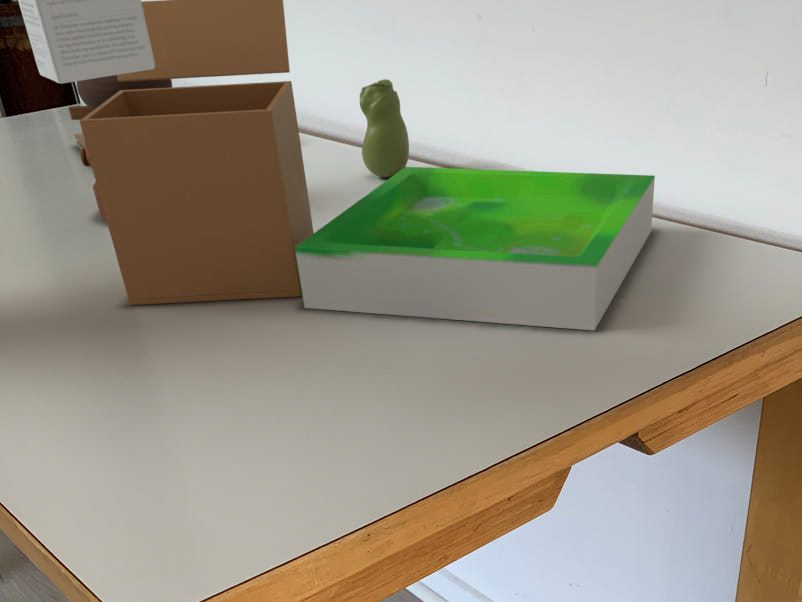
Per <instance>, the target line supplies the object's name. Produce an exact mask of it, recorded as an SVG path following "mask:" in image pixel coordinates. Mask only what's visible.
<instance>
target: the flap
mask: <svg viewBox="0 0 802 602" xmlns="http://www.w3.org/2000/svg"><path fill="white" fill-rule="evenodd" d="M141 3H142V7H143V11H144V16H145V21H146V25H147V30H148V34H149V38H150V43H151V48H152V52H153V57H154V61H155V68H154V69H151V70H145V71H138V72H132V73H125V74H119V75H117V78H118V81H119V82H125V81H143V80H161V79H171V80H176V79H177V80H178V79H195V78H196V79H197V78H214V77H215V78H216V77H233V76H234V77H235V76H251V75H252V76H254V75H267V74H270V75H271V74H287V73H288V74H289V73H291V72H290V71H291V70H290V59H289V48H288V40H287V39H288V37H287V28H286V27H287V26H286V18H285V6H284V0H147V1H143V0H142V1H141Z"/></svg>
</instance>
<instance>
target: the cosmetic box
mask: <svg viewBox="0 0 802 602" xmlns="http://www.w3.org/2000/svg"><path fill="white" fill-rule="evenodd" d="M17 1H18V5H19V9H20V11H21V15H22V18H23V22H24V26H25V29H26V33H27V36H28V39H29V43H30V46H31V49H32V54H33V57H34V60H35V63H36V67H37V70H38V73H39V75H40V76H42V77H44V78H46V79H49V80H51V81H53V82H55V83H57V84H61V85H62V84H68V83H72V82H73V83H74V82H77V81H81V80H88V79H94V78H100V77H106V76H112V75H119V74H125V73H132V72H138V71H145V70H151V69H154V68H155V61H154V57H153V52H152V48H151V43H150V38H149V34H148V30H147V25H146V21H145V16H144V11H143V7H142V3H141V2H142V0H17Z"/></svg>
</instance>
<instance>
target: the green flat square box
mask: <svg viewBox="0 0 802 602" xmlns="http://www.w3.org/2000/svg"><path fill="white" fill-rule="evenodd" d="M655 178H656V176H655V175H653V174H651V175H650V174H624V173H623V174H620V173H592V172H568V171H567V172H565V171H564V172H563V171H562V172H561V171H533V170H505V169H482V168H481V169H478V168H451V167H450V168H449V167H447V168H446V167H420V166H419V167H418V166H405V168H403V169H402V170H400V171H399V172H398V173H396V174H395V175H394V176H392V177H388V179H386V180H385V181H383V182H382V183H381V184H380V185H378V186H376V188H374V189H373V190H371V191H370V192H369V193H367V194H366V195H365V196H363V197H362V198H360V199H359V200H357V201H356V202H355V203H353V205H351V206H350V207H348V208H347V209H345V210H344V211H342V212H341V213H340V214H339V215H337V216H336V217H335V218H333V219H331V220H330V221H329V222H328V223H326V224H325V225H323V226H322V227H321V228H319V229H318V230H316V231H315V232H314V234H312V235H311V236H310V237H308V238H307V239H306V240H304V241H303V242H301V243H300V244H299V245H297V246H296V247H295V251H296V258H297V264H298V270H299V276H300V282H301V289H302V295H301V296H302V300H303V307H304V309H312V310H327V311H337V312H338V311H339V312H340V311H341V312H352V313H363V314H364V313H366V314H377V315H391V316H404V317H415V318H417V317H418V318H427V319H442V320H443V319H444V320H455V321H466V322H467V321H468V322H478V323H479V322H481V323H493V324H494V323H495V324H503V325H504V324H506V325H516V326H517V325H518V326H530V327H531V326H533V327H544V328H556V329H557V328H558V329H570V330H580V331H581V330H583V331H595V330H596V329H597V327H598V325H599V324H600V321H602V318H603V317H604V315H605V313H606V311H607V310H608V308H609V306H610V304H611V303H612V301H613V299H614V297H615V296H616V294H617V292H618V291H619V288H620V286H621V285H622V283H623V281H624V280H625V278H626V276H627V274H628V273H629V271H630V270H631V267H632V265H633V264H634V262H635V261H636V259H637V257H638V255H639V254H640V252H641V250H642V248H643V246H644V245H645V243H646V241H647V239H648V238H649V237H650V234H651V233H652V228H653V227H652V226H653V225H652V224H653V211H654V209H653V207H654V197H655V196H654V194H655Z"/></svg>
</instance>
